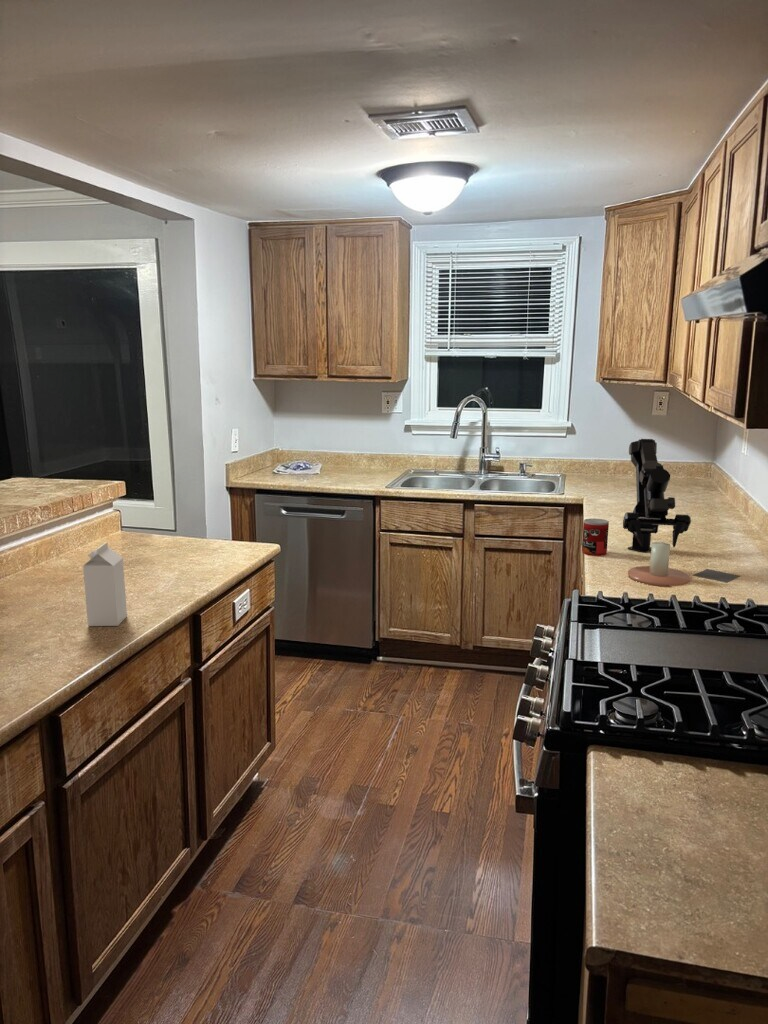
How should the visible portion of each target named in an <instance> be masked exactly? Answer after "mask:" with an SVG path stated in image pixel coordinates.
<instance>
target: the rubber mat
mask: <svg viewBox="0 0 768 1024" xmlns="http://www.w3.org/2000/svg"><path fill="white" fill-rule="evenodd" d="M692 576H693V577H698V578H703V579H708V580H713V581H715V582H721V583H725V584H726V583H727V584H728V583H730V582H732V581H734V580H736V579H739V578H740V577H741V575H738V574H734V573H729V572H725V571H724V572H723V571H718V570H715V569H714V570H713V569H709V568H706V569H704V570H701V571H699V572H697V573H694V574H692Z"/></svg>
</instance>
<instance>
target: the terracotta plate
mask: <svg viewBox="0 0 768 1024" xmlns="http://www.w3.org/2000/svg"><path fill="white" fill-rule="evenodd" d="M690 576H691V575H689V574H688V573H687V572H684V571H683V570H678V569H676V568H675V569H674V568H671V567H668V575H667V576H663V577H660V576H654V575H651V574H650V565H642V566H641V565H640V566H635V567H631V568H629V569H628V570H627V577H628V578H629V579H630V580H631V581H633V582H636V581H637V582H636V583H639V582H640V584H642V583H644V584H643V585H647V584H648V586H654V587H665V588H673V586H682V585H686V584H688V583H690V581H691V577H690Z"/></svg>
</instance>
